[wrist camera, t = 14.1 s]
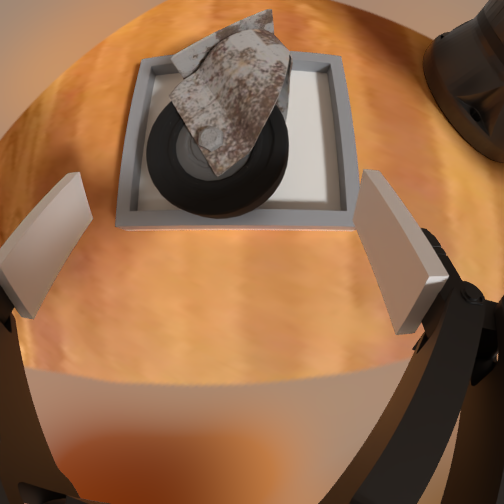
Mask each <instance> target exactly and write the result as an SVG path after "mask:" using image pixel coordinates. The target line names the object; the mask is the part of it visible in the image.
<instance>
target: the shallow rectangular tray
mask: <svg viewBox="0 0 504 504" xmlns="http://www.w3.org/2000/svg"><path fill="white" fill-rule="evenodd" d="M290 52H291V54H292V57H293V65H292V70H291V76H290V92H289V106H288V114H287V120H286V126H287V129H288V137H289V156H288V164H287V168H286V171H285V174H284V177H283V179H282V181H281V183H280V185H279V186H278V188H277V189H276V191H275V192H274V194H273V195H272V196H271V197H270V198H269V199H268V200H267V201H266V202H264V203H263V204H262V205H260V206H259V207H257V208H256V209H254V210H253V211H250V212H248V213H246V214H243V215H241V216H237V217H232V218H227V219H213V218H206V217H202V216H198V215H195V214H192V213H189V212H187V211H184V210H182V209H179V208H178V207H176V206H174V205H172V204H171V203H170V202H169V201H167V200H166V199H165V198H164V197H163V196H162V195H161V194H160V192H159V191H158V190H157V188H156V187H155V185H154V184H153V182H152V180H151V177H150V174H149V171H148V167H147V161H146V148H147V141H148V137H149V134H150V131H151V129H152V126H153V124H154V122H155V121H156V119H157V117H158V115H159V114H160V113H161V111H162V110H163V109H164V108H165V107H166V106H167V105H168V104H169V103H170V102H171V99H170V98H169V95H170V93H171V92H172V91H173V90H174V88H175V87H176V86H177V85H178V84H179V83H180V82H181V81H183V80H184V79H183V78H182V76H181V75H180V73H179V72H178V70H177V68H176V67H175V65H174V64H173V62H172V61H171V58H172V57H173V56H174V55H167V56H160V57H153V58H147V59H142V61H141V65H140V69H139V73H138V77H137V81H136V85H135V89H134V94H133V99H132V103H131V108H130V113H129V119H128V124H127V130H126V136H125V142H124V148H123V155H122V162H121V170H120V178H119V187H118V197H117V209H116V222H115V227H117V228H120V229H123V230H126V231H149V230H311V231H354V230H356V227H355V225H354V223H353V221H352V220H353V215H354V211H355V207H356V202H357V198H358V193H359V189H360V184H359V172H358V162H357V153H356V144H355V136H354V128H353V121H352V114H351V108H350V102H349V96H348V90H347V84H346V79H345V73H344V68H343V63H342V59H341V56H335V55H327V54H318V53H308V52H295V51H290Z"/></svg>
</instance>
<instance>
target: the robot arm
mask: <svg viewBox="0 0 504 504" xmlns="http://www.w3.org/2000/svg"><path fill="white" fill-rule="evenodd" d="M423 68H424V73H425V77H426V80H427V83H428V85H429V88H430V90H431V92H432V94H433V96H434V98H435V100H436V102H437V103H438V105H439V107H440V108H441V110H442V111H443V113H444V114H445V116H446V117H447V118H448V120H449V121H450V122H451V124H452V125H453V126H454V127H455V129H456V130H457V131H458V132H459V133H460V134H461V135H462V137H463V138H464V139H465V140H466V141H467V142H468V143H469V144H471V145H472V146H473V147H474V148H475V149H476V150H478V151H479V152H480V153H482V154H483V155H485V156H486V157H488V158H490V159H492V160H494V161H497V162H501V163H504V0H489V1H488V2H487V3H486V5H485V6H484V7H483V9H482V10H481V11H480V12H479V14H478V15H477V16H476V17H475V18H474V19H472V20H470V21H467V22H465V23H464V24H462V25H460V26H458V27H456V28H455V29H453V30H452V31H451V32H447V33H443V34H441V35H439V36H438V37H437V38H435V39H434V41H433V42H432V43H431V45H430V46H429V47H428V49H427V50H426V52H425V54H424V58H423ZM92 220H93V217H92V214H91V210H90V207H89V204H88V201H87V197H86V194H85V190H84V187H83V183H82V179H81V176H80V172H73V173H67V174H66V175H65V176H64V177H63V178H62V179H61V180H60V181H59V182H58V183H57V184H56V185H55V186H54V187H53V188H52V189H51V190H50V191H49V192H48V193H47V194H46V195H45V196H44V197H43V199H42V200H41V201H40V202H39V203H38V204H37V205H36V206H35V207H34V208H33V209H32V211H31V212H30V213H29V214H28V215H27V216H26V217H25V219H24V220H23V221H22V222H21V223H20V224H19V226H18V227H17V228H16V229H15V230H14V232H13V233H12V234H11V235H10V237H9V238H8V239H7V240H6V242H5V243H4V244H3V246H2V247H1V248H0V504H24V503H27V504H109V503H103V502H97V501H91V500H86V499H81V498H80V497H79V495H78V493H77V491H76V489H75V488H74V486H73V485H72V483H71V482H70V481H69V479H68V478H67V477H65V475H64V474H63V473H62V472H61V471H60V470H59V469H58V467H57V466H56V464H55V461H54V459H53V457H52V454H51V452H50V449H49V447H48V444H47V442H46V439H45V437H44V434H43V431H42V428H41V426H40V423H39V420H38V417H37V414H36V410H35V407H34V404H33V401H32V397H31V394H30V390H29V386H28V383H27V378H26V375H25V370H24V366H23V361H22V356H21V351H20V346H19V340H18V334H17V328H16V321H15V318H14V316H13V314H12V313H11V312H12V310H13V308H14V307H15V308H16V310H17V311H18V313H19V314H20V315H21V317H25V318H30V319H34V318H35V316H36V314H37V312H38V310H39V308H40V306H41V304H42V302H43V300H44V299H45V297H46V295H47V293H48V291H49V289H50V287H51V286H52V284H53V282H54V280H55V279H56V277H57V275H58V273H59V272H60V270H61V268H62V266H63V265H64V263H65V261H66V260H67V258H68V257H69V255H70V253H71V252H72V250H73V248H74V247H75V245H76V244H77V242H78V241H79V239H80V238H81V236H82V234H83V233H84V231H85V230H86V228H87V227H88V225H89V224H90V223H91V221H92ZM352 221H353V223H354V225H355V227H356V230H357V232H358V234H359V237H360V239H361V242H362V244H363V246H364V249H365V251H366V254H367V256H368V259H369V261H370V264H371V266H372V269H373V272H374V274H375V277H376V279H377V282H378V285H379V287H380V290H381V293H382V296H383V298H384V301H385V304H386V307H387V310H388V313H389V316H390V319H391V322H392V325H393V328H394V331H395V334H396V335H400V334H410V333H415V331H416V330H417V328H418V327H419V325H420V324H421V322H422V324H423V327H424V330H425V332H424V333H423V335H422V336H421V338H420V339H419V340H418V342H417V343H416V344H415V346H414V347H413V348H412V349H413V350H415V352H414V354H413V356H412V358H411V360H410V362H409V365H408V367H407V369H406V371H405V373H404V375H403V377H402V379H401V381H400V383H399V384H398V387H397V388H396V390H395V392H394V394H393V396H392V398H391V400H390V401H389V403H388V405H387V407H386V408H385V410H384V412H383V414H382V415H381V417H380V419H379V420H378V422H377V424H376V425H375V427H374V428H373V430H372V432H371V433H370V435H369V436H368V438H367V440H366V441H365V443H364V444H363V446H362V447H361V449H360V450H359V452H358V453H357V455H356V456H355V457H354V459H353V460H352V462H351V463H350V464H349V466H348V467H347V468H346V470H345V471H344V473H343V474H342V475H341V477H340V478H339V479H338V481H337V482H336V483H335V484H334V486H333V487H332V488H331V490H330V491H329V492H328V493H327V494H326V496H325V497H324V498H323V499H322V500H321V501H320V502H319V503H318V504H417V503H418V501H419V499H420V498H421V496H422V494H423V492H424V491H425V489H426V487H427V485H428V483H429V481H430V479H431V477H432V476H433V474H434V472H435V470H436V468H437V465H438V463H439V461H440V459H441V457H442V455H443V452H444V450H445V448H446V446H447V443H448V441H449V439H450V436H451V434H452V431H453V428H454V426H455V424H456V421H457V418H458V415H459V413H460V410H461V413H460V420H459V428H458V433H457V439H456V444H455V449H454V454H453V459H452V464H451V468H450V472H449V476H448V480H447V483H446V487H445V490H444V495H443V497H442V500H441V504H504V295H503V297H502V298H501V300H500V301H499V303H496V302H492V301H488V300H485V298H484V296H483V294H482V292H481V291H480V290H479V289H478V288H477V287H476V286H475V285H473V284H471V283H469V282H467V281H462V280H461V278H460V276H459V274H458V273H457V271H456V269H455V268H454V266H453V264H452V263H451V261H450V259H449V258H448V256H446V253H445V251H444V250H443V248H441V245H440V243H439V242H438V240H437V239H436V237H435V236H434V235H432V234H431V233H430V232H429V231H428V230H427V229H424V228H420V227H419V225H418V224H417V222H416V221H415V219H414V218H413V217H412V215H411V214H410V212H409V211H408V209H407V208H406V206H405V205H404V204H403V202H402V201H401V199H400V198H399V197H398V195H397V194H396V192H395V191H394V190H393V188H392V187H391V186H390V184H389V183H388V182H387V180H386V179H385V178H384V176H383V175H382V174H381V173H380V171H378V170H368V169H363V174H362V179H361V184H360V189H359V193H358V198H357V202H356V207H355V211H354V215H353V220H352ZM497 354H498V361H497Z"/></svg>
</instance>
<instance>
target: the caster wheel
mask: <svg viewBox="0 0 504 504" xmlns="http://www.w3.org/2000/svg"><path fill="white" fill-rule="evenodd" d="M171 61H172V62H173V64H174V65H175V67H176V68H177V70H178V72H179V73H180V75H181V76H182V78H183V79H184V80H183V81H181V82H180V83H179V84H178V85H177V86H176V87H175V88H174V90H173V91H172V92H171V93H170V95H169V98H170V99H171V102H170V103H169V104H168V105H167V106H166V107H165V108H164V109H163V110H162V111H161V113H160V114H159V115H158V117H157V119H156V121H155V122H154V124H153V126H152V129H151V131H150V134H149V137H148V141H147V148H146V161H147V167H148V171H149V174H150V177H151V180H152V182H153V184H154V185H155V187H156V188H157V190H158V191H159V192H160V194H161V195H162V196H163V197H164V198H165V199H166V200H167V201H169V202H170V203H171V204H172V205H174V206H176V207H178V208H179V209H182V210H184V211H187V212H189V213H192V214H195V215H198V216H202V217H206V218H213V219H227V218H232V217H237V216H241V215H243V214H246V213H248V212H250V211H253V210H254V209H256V208H257V207H259V206H260V205H262V204H263V203H264V202H266V201H267V200H268V199H269V198H270V197H271V196H272V195H273V194H274V192H275V191H276V189H277V188H278V186H279V185H280V183H281V181H282V179H283V177H284V174H285V171H286V168H287V164H288V156H289V137H288V129H287V126H286V120H287V114H288V106H289V92H290V76H291V70H292V65H293V57H292V54H291V52H290V51H289V50H288V49H287V48H286V47H285V46H284V45H283V44H282V43H281V42H280V40H279V39H278V38H277V37H276V36H275V35H274V26H273V16H272V9H267V10H264V11H262V12H259V13H257V14H254V15H252V16H249V17H247V18H245V19H243V20H240V21H238V22H236V23H234V24H231V25H229V26H227V27H225V28H223V29H221V30H219V31H217V32H215V33H213V34H211V35H209V36H207V37H205V38H203V39H201V40H199V41H198V42H196V43H194V44H192V45H190V46H188V47H187V48H185V49H183V50H181V51H180V52H178V53H176V54H175V55H174V56H173V57H172V58H171Z"/></svg>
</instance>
